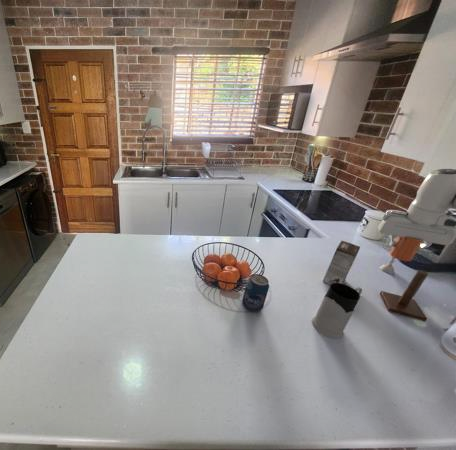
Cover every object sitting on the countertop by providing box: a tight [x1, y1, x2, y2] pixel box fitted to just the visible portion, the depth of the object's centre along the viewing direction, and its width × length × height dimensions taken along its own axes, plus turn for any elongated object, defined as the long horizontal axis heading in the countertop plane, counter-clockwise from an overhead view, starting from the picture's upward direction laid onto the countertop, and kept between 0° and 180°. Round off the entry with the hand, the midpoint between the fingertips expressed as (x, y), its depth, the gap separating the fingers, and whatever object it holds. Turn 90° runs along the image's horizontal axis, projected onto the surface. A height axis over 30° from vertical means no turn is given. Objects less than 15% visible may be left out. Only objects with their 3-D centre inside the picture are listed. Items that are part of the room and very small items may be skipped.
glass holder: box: [311, 283, 363, 339], centre depth 78 cm, size 9×14×15 cm, turn 113°
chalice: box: [379, 237, 398, 275], centre depth 105 cm, size 7×7×18 cm
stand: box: [379, 269, 429, 322], centre depth 86 cm, size 10×10×16 cm
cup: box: [388, 237, 424, 262], centre depth 93 cm, size 6×6×9 cm
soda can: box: [241, 273, 270, 314], centre depth 84 cm, size 7×7×12 cm
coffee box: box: [322, 240, 361, 286], centre depth 98 cm, size 9×6×16 cm
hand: (405, 248), depth 93 cm, fingers closed on cup, 6 cm apart
